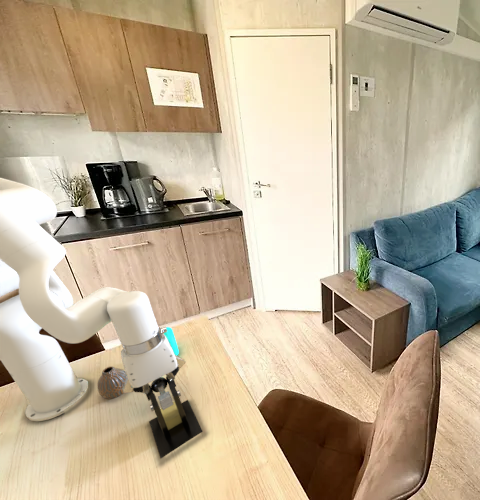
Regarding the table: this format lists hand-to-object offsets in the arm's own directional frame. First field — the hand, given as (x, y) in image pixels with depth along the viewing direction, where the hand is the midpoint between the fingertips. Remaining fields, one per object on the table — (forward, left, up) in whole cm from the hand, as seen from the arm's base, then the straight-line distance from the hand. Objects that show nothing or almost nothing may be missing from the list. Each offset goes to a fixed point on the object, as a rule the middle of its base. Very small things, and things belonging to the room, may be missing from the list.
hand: (163, 394), depth 75 cm
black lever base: (+9, 0, -4) cm, 10 cm away
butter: (+7, 0, -3) cm, 7 cm away
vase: (-14, -9, -4) cm, 17 cm away
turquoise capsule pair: (-20, +3, -4) cm, 20 cm away
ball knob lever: (+5, 0, +3) cm, 6 cm away
